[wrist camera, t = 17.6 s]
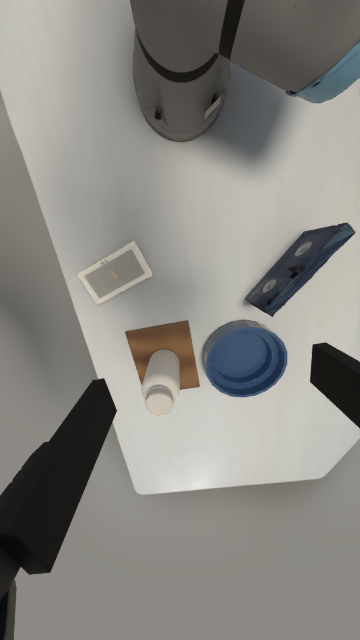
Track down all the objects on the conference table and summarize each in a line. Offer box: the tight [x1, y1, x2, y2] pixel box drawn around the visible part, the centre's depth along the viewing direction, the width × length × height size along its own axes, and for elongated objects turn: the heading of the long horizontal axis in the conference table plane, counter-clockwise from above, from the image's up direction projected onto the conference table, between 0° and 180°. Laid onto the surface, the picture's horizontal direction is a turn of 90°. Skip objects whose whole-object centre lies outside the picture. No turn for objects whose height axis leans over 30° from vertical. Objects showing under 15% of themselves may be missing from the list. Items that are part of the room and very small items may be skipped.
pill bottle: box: [142, 349, 180, 416], centre depth 39 cm, size 8×8×15 cm
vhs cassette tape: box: [245, 223, 356, 317], centre depth 35 cm, size 18×3×10 cm, turn 141°
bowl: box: [203, 320, 287, 397], centre depth 44 cm, size 19×19×5 cm
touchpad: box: [77, 241, 153, 305], centre depth 39 cm, size 8×15×2 cm, turn 117°
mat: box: [125, 321, 200, 390], centre depth 47 cm, size 20×16×1 cm
